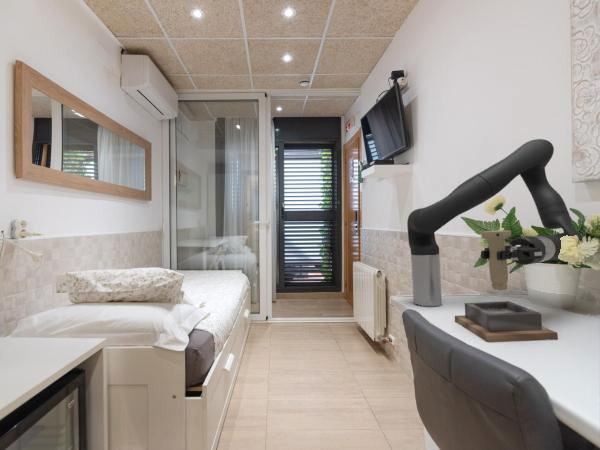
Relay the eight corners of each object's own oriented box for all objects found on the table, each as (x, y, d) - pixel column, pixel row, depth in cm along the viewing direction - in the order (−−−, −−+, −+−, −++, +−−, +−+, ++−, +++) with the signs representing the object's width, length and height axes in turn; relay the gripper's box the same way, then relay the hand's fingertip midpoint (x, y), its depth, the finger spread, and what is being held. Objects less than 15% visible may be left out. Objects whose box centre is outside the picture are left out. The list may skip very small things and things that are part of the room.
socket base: (454, 321, 88) (453, 301, 88) (512, 318, 88) (510, 299, 88) (487, 342, 72) (486, 318, 72) (557, 339, 72) (556, 315, 72)
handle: (516, 291, 76) (512, 231, 77) (486, 290, 79) (482, 232, 79) (512, 287, 81) (508, 230, 81) (484, 287, 84) (480, 231, 84)
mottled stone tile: (475, 311, 84) (474, 308, 84) (506, 310, 84) (506, 307, 84) (493, 321, 76) (493, 318, 76) (528, 319, 76) (528, 316, 76)
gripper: (504, 236, 92) (464, 240, 85) (560, 236, 79) (518, 241, 72) (506, 261, 92) (466, 267, 85) (562, 265, 79) (520, 273, 72)
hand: (490, 255), depth 79 cm, fingers closed on handle, 3 cm apart
